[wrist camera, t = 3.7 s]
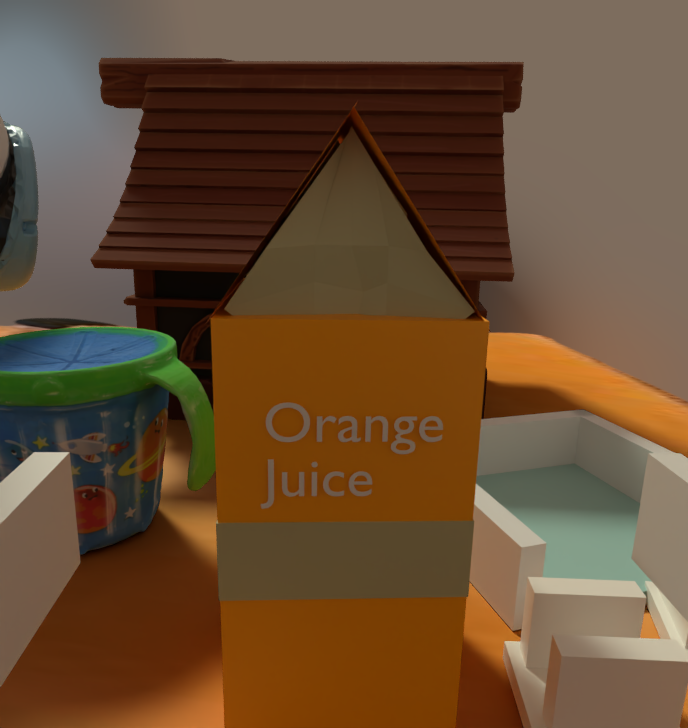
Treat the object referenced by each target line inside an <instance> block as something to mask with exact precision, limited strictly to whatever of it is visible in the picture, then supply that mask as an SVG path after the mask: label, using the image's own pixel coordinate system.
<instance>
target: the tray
mask: <svg viewBox="0 0 688 728" xmlns="http://www.w3.org/2000/svg"><path fill="white" fill-rule="evenodd" d="M648 453H674V452H672V451H670V450H668V449H666V448H664V447H662V446H659V445H657V444H655V443H653V442H651V441H649V440H647V439H645V438H643V437H641V436H638V435H636V434H634V433H632V432H630V431H628V430H626V429H624V428H622V427H620V426H617V425H615V424H613V423H611V422H609V421H607V420H605V419H603V418H601V417H599V416H596V415H594V414H592V413H590V412H588V411H586V410H584V409H582V410H572V411H561V412H551V413H541V414H530V415H520V416H509V417H499V418H489V419H481V429H480V441H479V453H478V465H477V477H476V489H475V501H474V513H473V520H474V532H473V544H472V556H471V568H470V580H469V581H470V582H471V583H472V585H473V586H474V587H475V588H476V589H477V590H478V591H479V593H480V594H481V595H482V596H483V597H484V598H485V600H486V601H487V602H488V603H489V604H490V605H491V607H492V608H493V609H494V610H495V611H496V612H497V613H498V615H499V616H500V617H501V618H502V619H503V620H504V622H505V623H506V624H507V625H508V626H509V627H510V629H511V630H512V631H515V630H519V629H522V623H523V614H524V605H525V596H526V587H527V578H528V577H545V578H570V579H595V580H619V581H635V582H636V583H637V585H638V586H639V588H640V589H641V590H642V592H643V593H644V595H645V596H646V594H647V589H646V587H645V585H644V584H645V581H651V580H650V579H649V578H648V577H647V576H646V574H645V573H644V572H643V571H642V570H641V569H640V568H639V567H638V565H637V564H636V563H635V562H634V561H633V560H632V559H631V558H632V552H633V545H634V539H635V533H636V527H637V521H638V514H639V508H640V502H641V496H642V489H643V483H644V477H645V471H646V465H647V458H648ZM651 582H652V581H651Z"/></svg>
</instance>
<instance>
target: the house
mask: <svg viewBox="0 0 688 728" xmlns="http://www.w3.org/2000/svg"><path fill="white" fill-rule="evenodd" d="M99 74H100V76H101V79H102V84H101V98H102V100H103V102H104V104H107V105H110V106H114V107H116V108H142V110H143V112H144V113H143V116H142V119H141V122H140V125H139V128H138V129H139V131H140V134H139V137H138V139H137V142H136V144H135V147H134V148H135V150H136V153H135V155H134V158H133V161H132V163H131V166H130V167H131V172H130V174H129V176H128V178H127V181H126V183H125V184H126V188H125V190H124V193H123V195H122V197H121V199H120V205H119V207H118V209H117V211H116V213H115V215H114V216H113V217H114V219H113V221H112V223H111V224H110V226H109V227H108V229H107V231H106V232H107V234H106V236H105V237H104V238H103V240H102V241H101V243H100V244H99V249H98V250H97V251H96V253H95V254H94V255H93V257H92V258H91V262H92V264H93V266H94V267H95V268H111V269H133V270H134V287H135V294H134V295H131V296H128V297H126V299H125V300H124V303H125V304H127V305H136V318H137V328H139V329H147V330H153V331H157V332H161V333H164V334H167V335H169V336H170V337H172V338H173V339H174V340H175V341H176V345H177V359H178V360H179V361H181V362H182V363H183V364H184V365H186V366H187V367H188V368H190V370H191V371H192V372H193V373H194V374H195V375H196V377H197V378H198V380H199V381H200V383H201V384H202V386H203V389H204V390H205V393H206V395H207V397H208V400H209V402H210V405H211V408H212V410H213V404H214V403H213V374H212V344H211V318H210V317H211V315H212V314H213V312H214V311H215V309H216V308H217V306H218V305H219V303H220V302H221V300H222V299H223V298H224V296H225V295H226V293H227V292H228V290H229V289H230V287H231V286H232V284H233V283H234V281H235V280H236V279H237V277H238V276H239V274H240V273H241V271H242V270H243V268H244V267H245V265H246V264H247V262H248V261H249V259H250V258H251V257H252V255H253V254H254V252H255V251H256V249H257V248H258V246H259V245H260V243H261V242H262V240H263V239H264V237H265V236H266V235H267V233H268V232H269V230H270V229H271V227H272V226H273V224H274V223H275V221H276V220H277V218H278V217H279V216H280V214H281V213H282V211H283V210H284V208H285V207H286V205H287V204H288V202H289V201H290V199H291V198H292V196H293V195H294V194H295V192H296V191H297V189H298V188H299V186H300V185H301V183H302V182H303V180H304V179H305V177H306V176H307V175H308V173H309V172H310V170H311V169H312V167H313V166H314V164H315V163H316V161H317V160H318V158H319V157H320V155H321V154H322V153H323V151H324V150H325V148H326V147H327V145H328V144H329V142H330V141H331V139H332V138H333V136H334V135H335V133H336V132H337V131H338V129H339V128H340V126H341V125H342V123H343V122H344V120H345V119H346V117H347V116H348V114H349V113H350V112H351V110H352V108H353V106H355V104H356V103H357V104H356V106H355V109H356V111H357V112H358V114H359V116H360V117H361V119H362V121H363V122H364V124H365V126H366V127H367V129H368V131H369V132H370V134H371V136H372V137H373V139H374V140H375V142H376V144H377V145H378V147H379V149H380V150H381V152H382V154H383V155H384V157H385V159H386V160H387V162H388V163H389V165H390V167H391V168H392V170H393V172H394V173H395V175H396V177H397V178H398V180H399V182H400V183H401V185H402V187H403V188H404V190H405V191H406V193H407V195H408V196H409V198H410V200H411V201H412V203H413V205H414V206H415V208H416V210H417V211H418V213H419V214H420V216H421V218H422V219H423V221H424V223H425V224H426V226H427V228H428V229H429V231H430V233H431V234H432V236H433V238H434V239H435V241H436V242H437V244H438V246H439V247H440V249H441V251H442V252H443V254H444V256H445V257H446V259H447V261H448V262H449V264H450V265H451V267H452V269H453V270H454V272H455V274H456V275H457V277H458V279H459V280H460V282H461V284H462V285H463V287H464V289H465V290H466V292H467V293H468V295H469V297H470V298H471V300H472V302H473V303H474V305H475V307H476V308H477V310H478V312H479V313H480V315H481V316H482V317H483V318H486V316H487V311H486V309H485V308H484V307H483V306H482V304H481V303H480V302H479V288H480V281H481V280H482V281H512V280H513V277H514V269H513V264H512V255H511V251H510V245H509V243H510V240H509V234H508V224H507V216H506V201H505V184H504V163H503V155H504V147H503V134H504V131H503V117H502V116H503V113H504V112H515V111H516V109H518V108H519V107H520V102H521V93H522V86H521V83H522V80H523V62H308V61H305V62H304V61H302V62H300V61H299V62H298V61H297V62H296V61H287V62H286V61H232V60H226V59H219V58H212V59H210V58H206V59H205V58H204V59H203V58H196V59H195V58H194V59H193V58H101V60H100V62H99ZM357 101H358V102H357ZM337 141H338V140H337ZM338 142H339V141H338ZM328 154H329V153H328ZM326 157H327V156H326ZM324 160H325V159H324ZM322 163H323V162H322ZM320 166H321V165H320ZM318 169H319V168H318ZM318 169H317V170H318ZM316 172H317V171H316ZM316 172H315V173H316ZM314 175H315V174H314ZM314 175H313V176H314ZM311 179H312V178H311ZM309 182H310V181H309ZM307 185H308V184H307ZM305 188H306V187H305ZM305 188H304V189H305ZM302 192H303V191H302ZM300 195H301V194H300ZM298 198H299V197H298ZM296 201H297V200H296ZM291 208H292V207H291ZM244 278H246V275H245V276H244ZM244 278H243V279H244ZM243 279H242V280H243ZM242 280H241V281H242ZM239 284H240V283H239ZM239 284H238V285H239ZM234 290H235V289H234ZM234 290H233V291H234ZM230 295H231V294H230ZM230 295H229V296H230ZM229 296H228V297H229ZM225 301H226V300H225ZM225 301H224V302H225ZM224 302H223V303H224ZM220 307H221V306H220ZM220 307H219V308H220ZM219 308H218V309H219ZM215 313H216V312H215ZM215 313H214V314H215ZM214 314H213V315H214ZM209 318H210V319H209ZM207 321H208V322H207ZM206 322H207V323H206ZM486 382H487V369H485V381H484V393H483V405H482V417H481V419H483V418H484V406H485V394H486ZM213 414H214V411H213ZM168 418H170V419H174V420H186V418H185V415H184V413H183V410H182V406H181V403H180V401H179V399H178V397H177V396H175V395H174V394H172V393H171V392H169V402H168ZM168 418H167V419H168Z"/></svg>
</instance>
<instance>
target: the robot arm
mask: <svg viewBox="0 0 688 728" xmlns="http://www.w3.org/2000/svg"><path fill="white" fill-rule="evenodd" d="M37 217H38V185H37V172H36V163H35V157H34V151H33V147H32V142H31V140H30V137H29V135H28V134H27V133H26V132H25V131H24V130H23V129H22V128H20V127H17V126H13V125H9V124H8V123H6V122H4V121H3V120H2V118H1V116H0V291H10V290H15V289H18V288H20V287H22V286H23V285H25V284H26V283H27V282H28V281H29V279H30V278H31V276H32V274H33V271H34V266H35V261H36V254H37V245H38V244H37V242H38V231H37V225H36V223H37V220H38V218H37ZM631 559H632V560H633V561H634V562H635V563H636V564H637V565H638V567H639V568H640V569H641V570H642V571H643V572H644V573H645V574H646V576H647V577H648V578H649V579H650V580H651V581H652V582H653V583H654V585H655V586H656V587H657V588H658V589H659V590H660V591H661V592H662V594H663V595H664V596H665V597H666V598H667V599H668V600H669V601H670V602H671V604H672V605H673V606H674V607H675V608H676V609H677V610H678V611H679V613H680V614H681V615H682V616H683V617H684V618H685V619H686V620H687V622H688V458H686V457H685V456H684V455H682V454H681V453H648V458H647V465H646V471H645V477H644V483H643V489H642V496H641V502H640V508H639V514H638V521H637V527H636V533H635V539H634V545H633V552H632V558H631ZM80 563H81V562H80V552H79V542H78V532H77V521H76V511H75V501H74V491H73V481H72V471H71V461H70V452H34V453H33V454H32V455H30V456H29V457H28V458H27V459H26V460H25V461H24V462H23V463H22V464H20V465H19V466H18V467H17V468H16V469H15V470H14V471H13V472H12V473H10V474H9V475H8V476H7V477H6V478H5V479H4V480H3V481H2V482H0V687H1V686H2V684H3V683H4V681H5V680H6V678H7V677H8V675H9V673H10V672H11V670H12V669H13V667H14V666H15V664H16V663H17V661H18V659H19V658H20V656H21V655H22V653H23V652H24V650H25V649H26V647H27V645H28V644H29V642H30V641H31V639H32V638H33V636H34V634H35V633H36V631H37V630H38V628H39V627H40V625H41V624H42V622H43V620H44V619H45V617H46V616H47V614H48V613H49V611H50V610H51V608H52V606H53V605H54V603H55V602H56V600H57V599H58V597H59V596H60V594H61V592H62V591H63V589H64V588H65V586H66V585H67V583H68V582H69V580H70V578H71V577H72V575H73V574H74V572H75V571H76V569H77V568H78V566H79V564H80Z"/></svg>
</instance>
